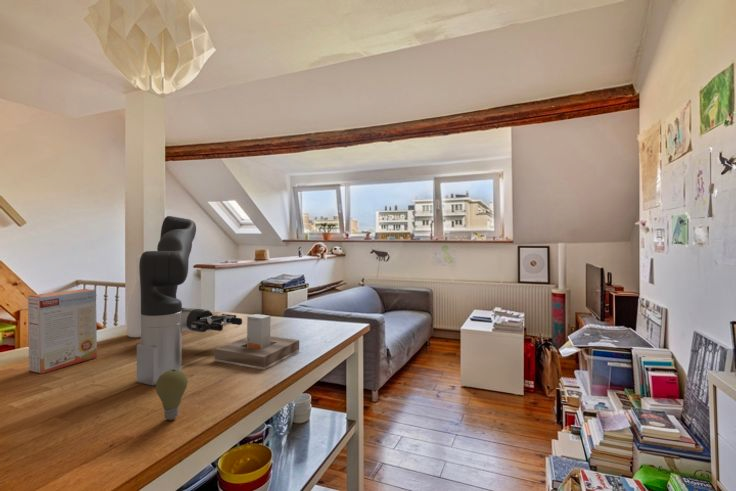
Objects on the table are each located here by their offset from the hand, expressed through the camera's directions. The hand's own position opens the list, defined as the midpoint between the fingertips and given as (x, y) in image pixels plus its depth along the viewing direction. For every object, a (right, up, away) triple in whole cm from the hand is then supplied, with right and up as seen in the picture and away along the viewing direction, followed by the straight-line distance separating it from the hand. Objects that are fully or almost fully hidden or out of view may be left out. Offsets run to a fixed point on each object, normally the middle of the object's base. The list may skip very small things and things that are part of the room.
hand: (232, 324), depth 112 cm
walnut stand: (+10, -9, -4) cm, 14 cm away
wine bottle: (-41, -8, +18) cm, 46 cm away
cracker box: (-43, -9, -13) cm, 46 cm away
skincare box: (+10, -9, -4) cm, 14 cm away
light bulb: (+5, -10, -43) cm, 44 cm away
